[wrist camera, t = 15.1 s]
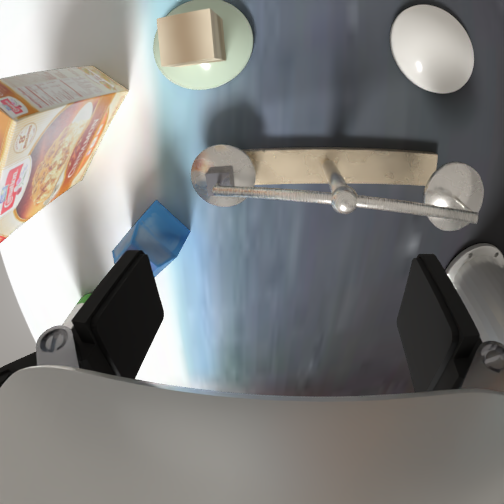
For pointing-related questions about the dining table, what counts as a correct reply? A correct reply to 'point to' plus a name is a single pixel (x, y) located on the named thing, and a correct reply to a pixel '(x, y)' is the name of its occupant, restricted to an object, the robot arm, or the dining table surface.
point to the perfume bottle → (155, 237)
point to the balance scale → (340, 179)
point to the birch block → (191, 38)
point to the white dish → (431, 49)
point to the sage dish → (236, 49)
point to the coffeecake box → (49, 135)
